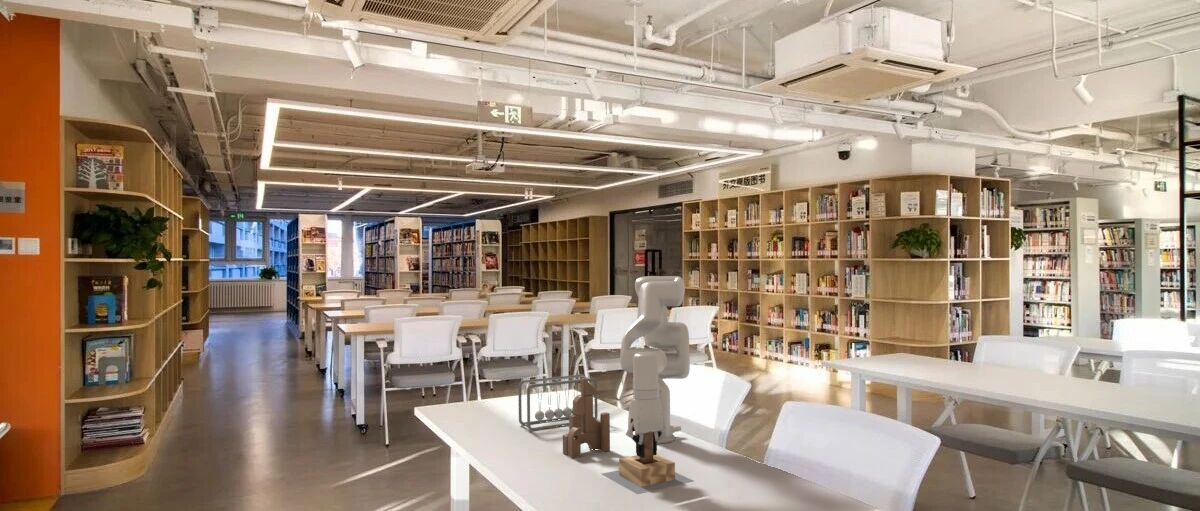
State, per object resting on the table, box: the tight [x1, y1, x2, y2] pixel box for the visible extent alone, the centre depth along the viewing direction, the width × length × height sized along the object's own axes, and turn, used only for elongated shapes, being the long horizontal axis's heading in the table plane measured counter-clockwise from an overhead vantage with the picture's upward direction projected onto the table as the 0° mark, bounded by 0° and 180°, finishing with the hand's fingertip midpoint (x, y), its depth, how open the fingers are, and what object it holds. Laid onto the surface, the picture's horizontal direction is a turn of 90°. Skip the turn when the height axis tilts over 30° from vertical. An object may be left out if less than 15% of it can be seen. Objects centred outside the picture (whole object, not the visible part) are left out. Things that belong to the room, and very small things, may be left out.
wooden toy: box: [562, 377, 611, 458], centre depth 226 cm, size 16×7×25 cm, turn 120°
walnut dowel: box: [640, 431, 654, 465], centre depth 199 cm, size 4×4×16 cm
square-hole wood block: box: [618, 454, 676, 487], centre depth 199 cm, size 12×12×5 cm
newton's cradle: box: [517, 373, 599, 431], centre depth 265 cm, size 30×10×18 cm, turn 117°
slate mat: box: [601, 469, 694, 495], centre depth 199 cm, size 20×20×1 cm
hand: (646, 454), depth 199 cm, fingers closed on walnut dowel, 3 cm apart
